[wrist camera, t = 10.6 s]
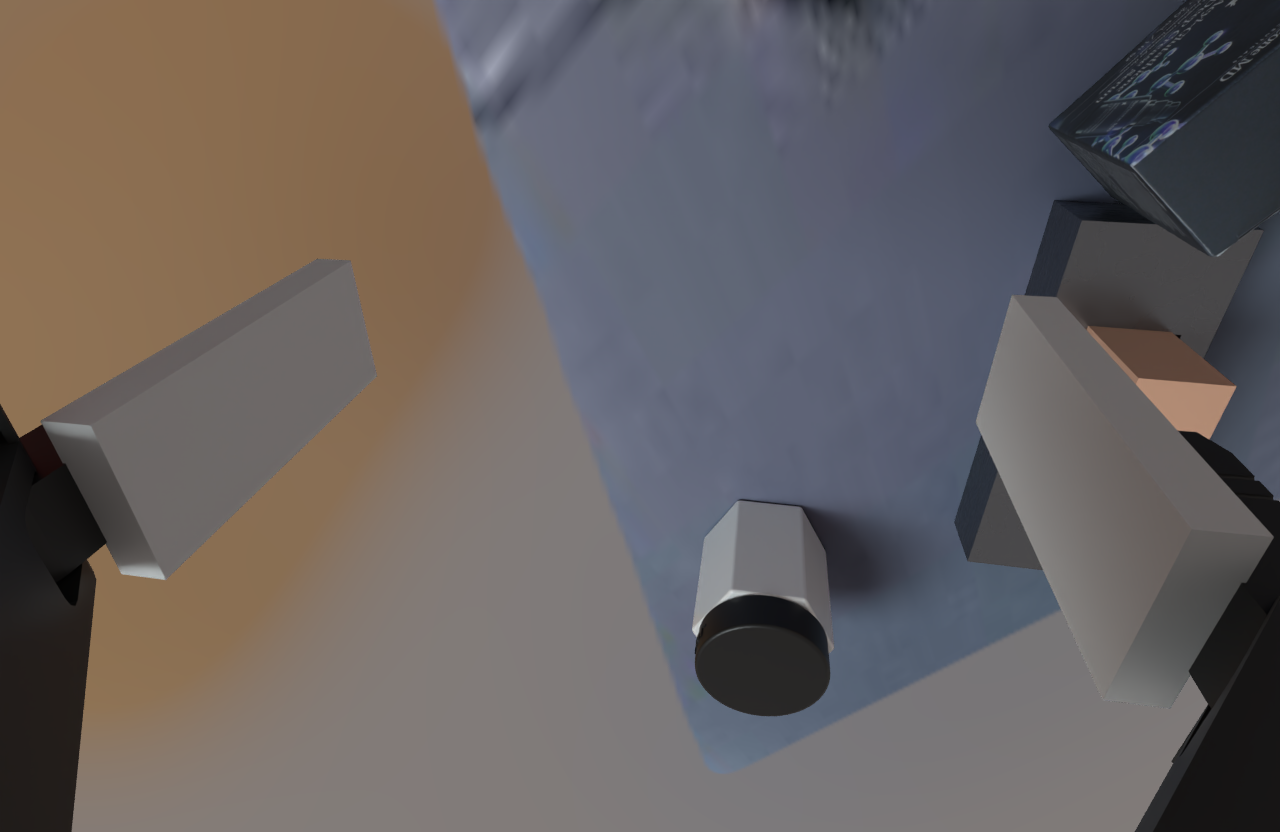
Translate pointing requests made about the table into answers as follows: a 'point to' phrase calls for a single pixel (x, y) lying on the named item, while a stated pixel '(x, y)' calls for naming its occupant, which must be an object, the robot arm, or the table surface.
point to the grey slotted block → (1104, 297)
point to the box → (1190, 123)
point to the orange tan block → (1169, 376)
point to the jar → (763, 611)
